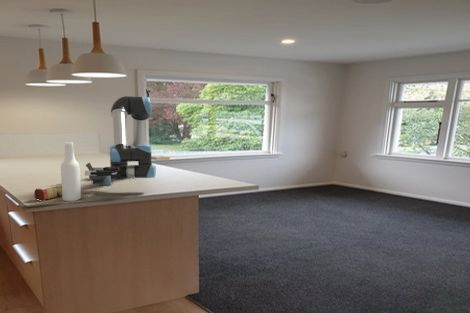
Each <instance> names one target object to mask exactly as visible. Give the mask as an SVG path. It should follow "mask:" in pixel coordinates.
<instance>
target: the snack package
mask: <svg viewBox="0 0 470 313" xmlns="http://www.w3.org/2000/svg"><path fill="white" fill-rule="evenodd" d="M61 195H62V183H57V184H53V185H48V186H43V187H37V188H35V189H34V198H35V200H36V199H39V200H45V201H47V200H46V199H48V200H51V199H50V198H52V199H54V197H55V198H59V197H62V196H61ZM58 196H59V197H58Z"/></svg>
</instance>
